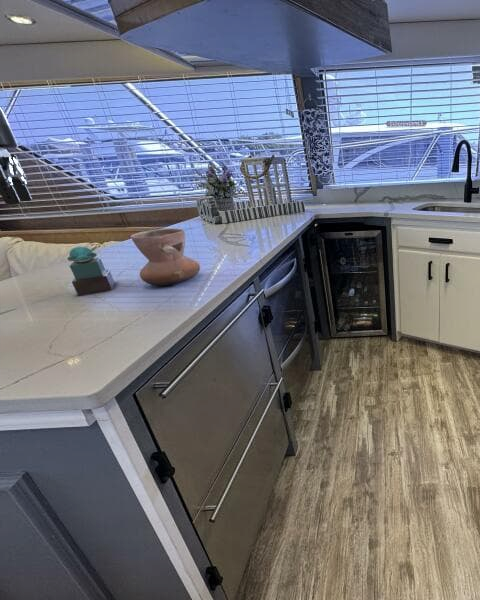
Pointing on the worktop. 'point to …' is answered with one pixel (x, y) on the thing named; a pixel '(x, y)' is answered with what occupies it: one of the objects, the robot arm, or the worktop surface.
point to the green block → (88, 269)
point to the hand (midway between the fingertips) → (20, 202)
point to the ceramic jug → (165, 257)
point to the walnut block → (94, 284)
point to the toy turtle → (81, 254)
